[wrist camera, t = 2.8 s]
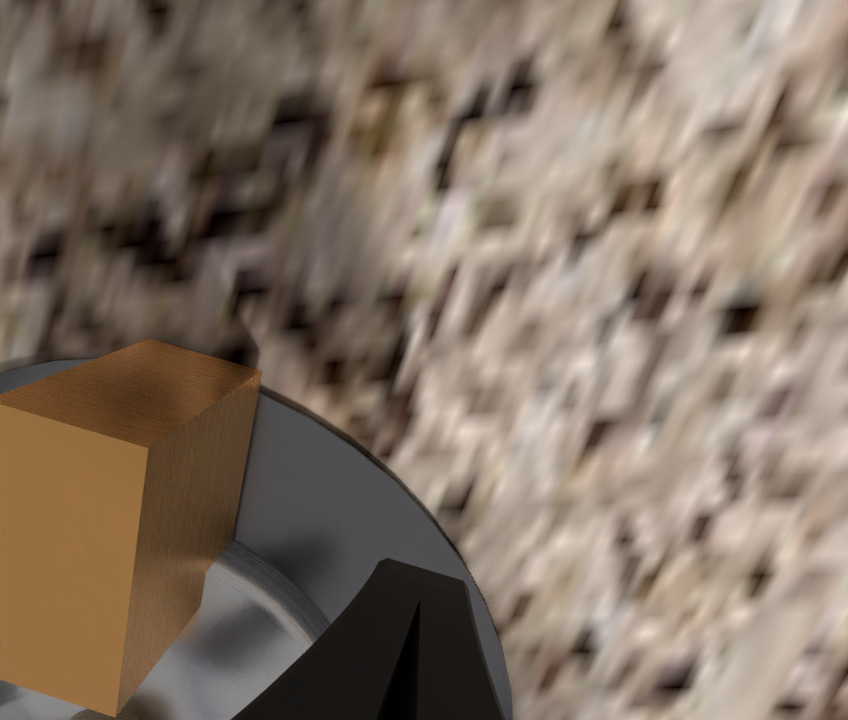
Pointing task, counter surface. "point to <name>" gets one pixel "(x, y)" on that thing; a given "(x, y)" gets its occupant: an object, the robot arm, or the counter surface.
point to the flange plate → (136, 544)
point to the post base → (324, 517)
